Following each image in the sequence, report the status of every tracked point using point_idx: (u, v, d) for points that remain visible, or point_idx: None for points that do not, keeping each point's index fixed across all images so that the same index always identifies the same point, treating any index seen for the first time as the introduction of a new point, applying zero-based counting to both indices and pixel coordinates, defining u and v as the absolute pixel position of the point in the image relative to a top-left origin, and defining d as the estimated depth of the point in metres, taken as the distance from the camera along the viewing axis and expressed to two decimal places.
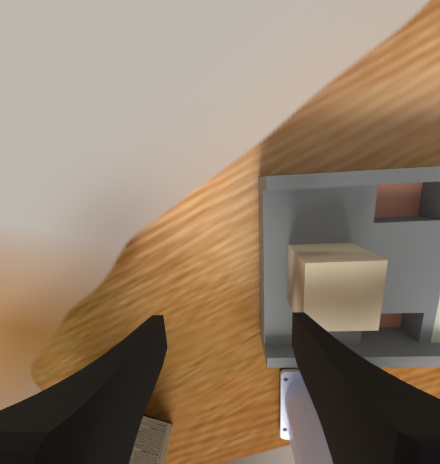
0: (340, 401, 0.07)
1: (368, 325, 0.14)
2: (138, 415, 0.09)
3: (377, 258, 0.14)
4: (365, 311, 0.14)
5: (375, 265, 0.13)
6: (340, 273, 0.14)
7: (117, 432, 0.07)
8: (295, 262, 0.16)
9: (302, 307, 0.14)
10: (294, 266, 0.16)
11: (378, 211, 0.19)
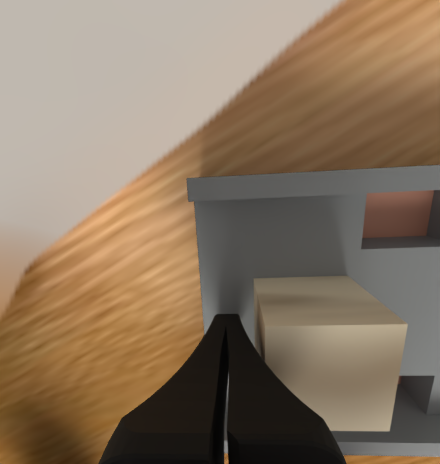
0: None
1: (373, 423, 0.09)
2: (224, 415, 0.08)
3: (388, 317, 0.08)
4: (368, 402, 0.08)
5: (385, 331, 0.08)
6: (326, 343, 0.08)
7: (221, 433, 0.07)
8: (258, 311, 0.10)
9: None
10: (257, 316, 0.10)
11: (369, 229, 0.13)
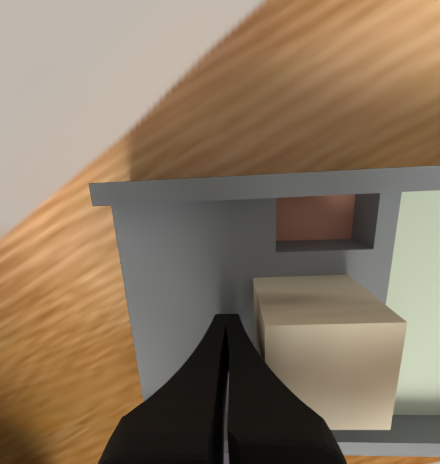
0: None
1: (373, 422, 0.09)
2: (223, 415, 0.08)
3: (387, 315, 0.08)
4: (368, 401, 0.08)
5: (385, 329, 0.08)
6: (325, 342, 0.08)
7: (220, 433, 0.07)
8: (258, 311, 0.10)
9: None
10: (257, 315, 0.10)
11: (296, 232, 0.13)
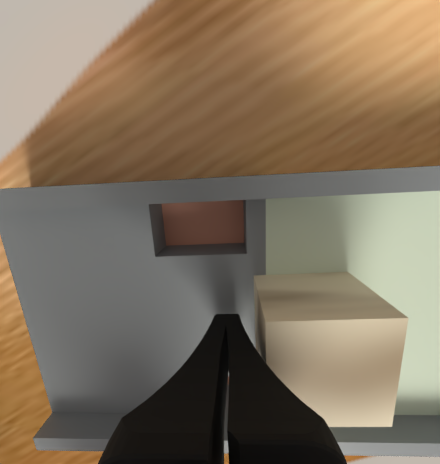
0: None
1: (375, 419, 0.09)
2: (223, 415, 0.08)
3: (389, 311, 0.08)
4: (370, 398, 0.08)
5: (386, 325, 0.08)
6: (326, 338, 0.08)
7: (220, 433, 0.07)
8: (258, 308, 0.10)
9: None
10: (258, 312, 0.10)
11: (191, 236, 0.14)
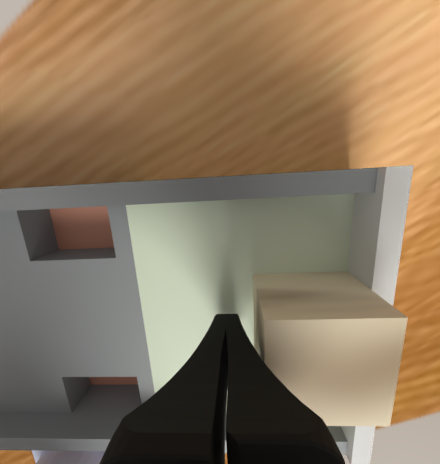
0: None
1: (373, 418, 0.09)
2: (224, 415, 0.08)
3: (388, 311, 0.08)
4: (368, 397, 0.08)
5: (385, 325, 0.08)
6: (325, 337, 0.08)
7: (221, 433, 0.07)
8: (257, 307, 0.10)
9: None
10: (257, 311, 0.10)
11: (81, 240, 0.14)
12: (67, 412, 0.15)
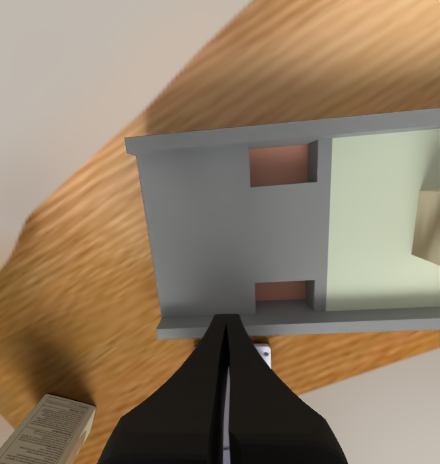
0: None
1: None
2: (223, 415, 0.08)
3: None
4: None
5: None
6: None
7: (220, 433, 0.07)
8: None
9: None
10: (439, 209, 0.15)
11: (267, 178, 0.18)
12: (253, 313, 0.19)
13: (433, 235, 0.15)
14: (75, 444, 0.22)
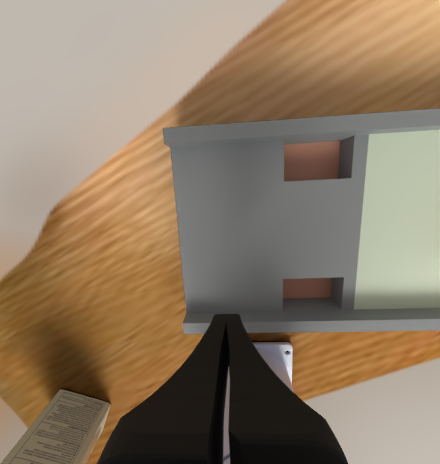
0: None
1: None
2: (223, 415, 0.08)
3: None
4: None
5: None
6: None
7: (220, 433, 0.07)
8: None
9: None
10: None
11: (297, 174, 0.18)
12: (280, 310, 0.19)
13: None
14: (91, 441, 0.22)
